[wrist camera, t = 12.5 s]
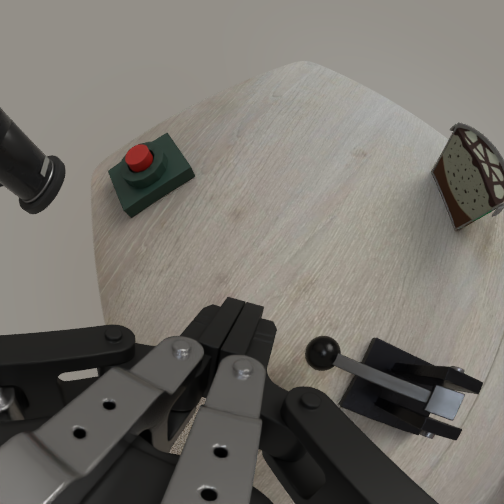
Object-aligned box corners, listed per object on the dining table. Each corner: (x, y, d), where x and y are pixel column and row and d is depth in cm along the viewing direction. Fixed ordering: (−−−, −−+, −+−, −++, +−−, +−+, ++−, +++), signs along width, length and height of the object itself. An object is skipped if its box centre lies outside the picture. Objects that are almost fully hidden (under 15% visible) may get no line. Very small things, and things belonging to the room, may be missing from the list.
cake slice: (485, 235, 29) (527, 205, 20) (458, 241, 30) (502, 208, 20) (455, 162, 33) (484, 123, 24) (427, 163, 34) (456, 119, 24)
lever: (305, 364, 25) (293, 358, 23) (321, 335, 26) (311, 326, 24) (445, 424, 16) (450, 427, 13) (460, 390, 16) (468, 387, 14)
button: (134, 176, 32) (129, 169, 30) (127, 161, 33) (122, 153, 31) (156, 162, 32) (151, 154, 31) (148, 148, 33) (143, 140, 32)
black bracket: (338, 404, 25) (375, 436, 14) (372, 337, 27) (426, 331, 16) (414, 432, 23) (470, 462, 12) (443, 371, 25) (509, 375, 14)
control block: (131, 218, 34) (117, 204, 30) (114, 178, 37) (101, 163, 33) (195, 176, 35) (187, 158, 32) (171, 141, 38) (163, 124, 34)
